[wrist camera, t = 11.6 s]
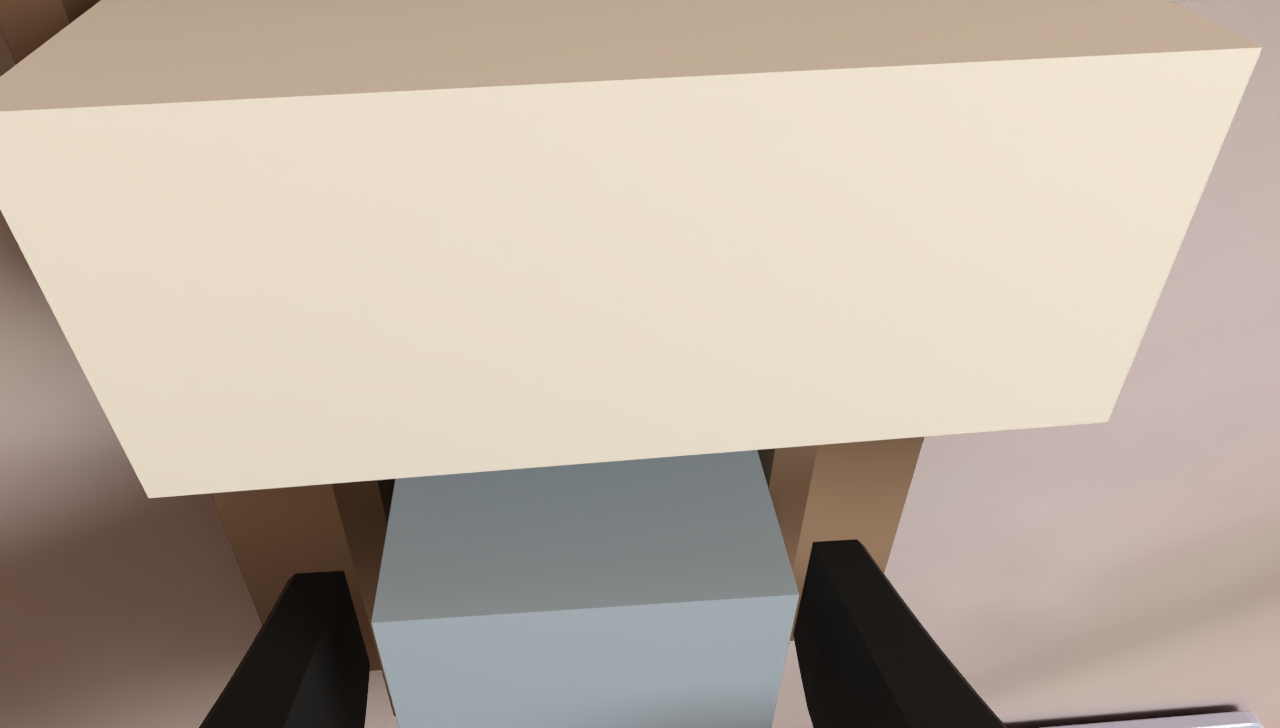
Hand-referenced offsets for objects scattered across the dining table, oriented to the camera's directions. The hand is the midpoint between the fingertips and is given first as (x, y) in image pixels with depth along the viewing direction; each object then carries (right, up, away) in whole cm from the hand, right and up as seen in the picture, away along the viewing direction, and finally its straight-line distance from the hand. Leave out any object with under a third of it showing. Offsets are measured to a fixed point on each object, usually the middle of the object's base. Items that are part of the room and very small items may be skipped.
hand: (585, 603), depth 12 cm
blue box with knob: (0, +2, +2) cm, 2 cm away
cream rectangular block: (0, +7, -2) cm, 7 cm away
